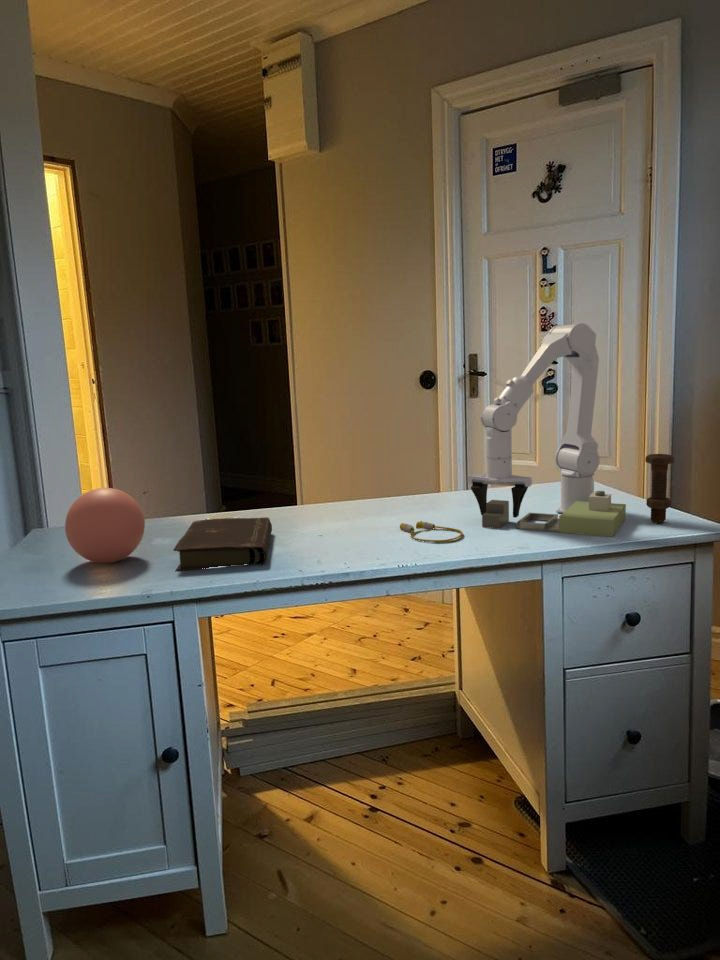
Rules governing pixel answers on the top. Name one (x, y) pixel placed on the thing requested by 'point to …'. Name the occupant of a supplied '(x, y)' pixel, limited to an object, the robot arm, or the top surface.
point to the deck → (593, 516)
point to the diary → (223, 542)
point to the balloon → (104, 525)
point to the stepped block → (496, 514)
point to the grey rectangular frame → (550, 525)
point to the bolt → (659, 486)
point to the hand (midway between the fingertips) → (499, 515)
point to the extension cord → (428, 526)
